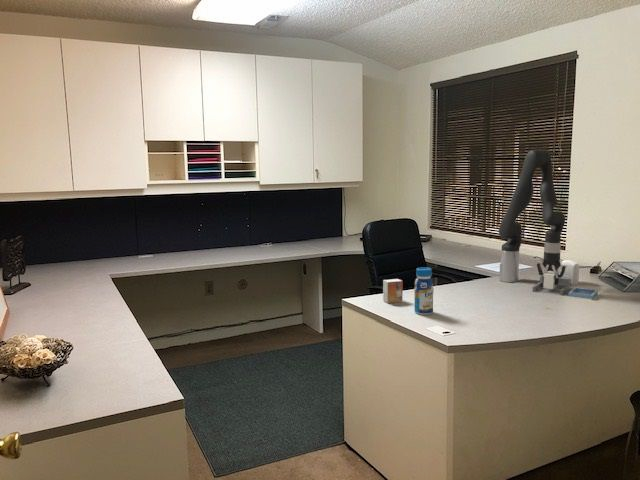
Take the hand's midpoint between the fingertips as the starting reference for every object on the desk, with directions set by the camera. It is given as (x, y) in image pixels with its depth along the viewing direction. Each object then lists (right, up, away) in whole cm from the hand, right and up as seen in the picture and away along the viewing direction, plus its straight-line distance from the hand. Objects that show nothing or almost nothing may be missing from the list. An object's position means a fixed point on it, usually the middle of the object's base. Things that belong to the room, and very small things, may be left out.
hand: (550, 284), depth 261 cm
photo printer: (+18, -1, +18) cm, 26 cm away
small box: (-81, -8, -11) cm, 82 cm away
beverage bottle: (-70, -10, -31) cm, 78 cm away
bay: (+1, -4, +2) cm, 4 cm away
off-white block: (0, -1, 0) cm, 1 cm away
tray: (+12, -5, -9) cm, 16 cm away
